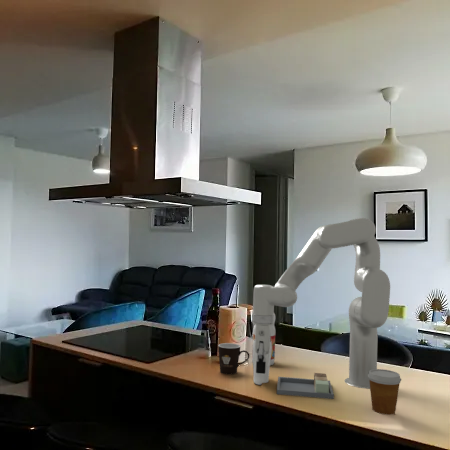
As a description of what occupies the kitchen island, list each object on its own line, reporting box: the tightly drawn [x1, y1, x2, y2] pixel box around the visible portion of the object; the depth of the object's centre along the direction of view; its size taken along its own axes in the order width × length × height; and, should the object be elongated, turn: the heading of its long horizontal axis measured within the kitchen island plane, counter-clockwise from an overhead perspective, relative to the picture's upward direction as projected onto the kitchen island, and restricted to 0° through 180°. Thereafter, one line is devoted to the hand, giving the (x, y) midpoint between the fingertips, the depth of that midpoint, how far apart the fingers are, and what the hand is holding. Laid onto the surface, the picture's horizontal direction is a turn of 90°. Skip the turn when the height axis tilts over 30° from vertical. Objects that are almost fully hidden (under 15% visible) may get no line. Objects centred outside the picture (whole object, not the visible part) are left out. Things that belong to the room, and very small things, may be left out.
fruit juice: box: [251, 312, 276, 366], centre depth 187 cm, size 9×9×28 cm
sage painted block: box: [315, 380, 329, 393], centre depth 145 cm, size 4×4×4 cm
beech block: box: [315, 376, 329, 383], centre depth 150 cm, size 4×4×4 cm
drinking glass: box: [252, 339, 272, 386], centre depth 159 cm, size 7×7×15 cm
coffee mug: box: [217, 342, 250, 375], centre depth 171 cm, size 12×9×10 cm
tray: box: [276, 376, 335, 400], centre depth 151 cm, size 18×15×2 cm
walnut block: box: [313, 372, 328, 388], centre depth 154 cm, size 4×4×4 cm
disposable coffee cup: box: [368, 368, 402, 416], centre depth 134 cm, size 10×10×12 cm
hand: (261, 370), depth 159 cm, fingers closed on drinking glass, 6 cm apart
